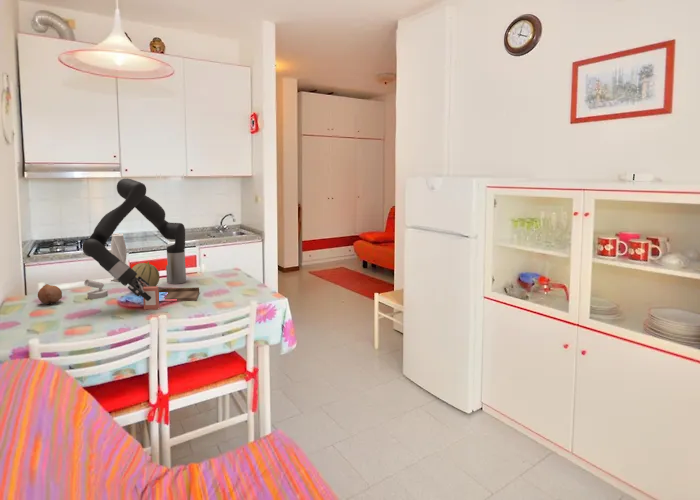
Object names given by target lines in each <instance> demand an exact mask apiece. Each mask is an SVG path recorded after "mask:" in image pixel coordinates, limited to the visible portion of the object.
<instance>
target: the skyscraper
mask: <svg viewBox="0 0 700 500" xmlns="http://www.w3.org/2000/svg"><path fill="white" fill-rule="evenodd" d="M110 244H111V246H110V248H111V249H110V252H111V253H112V254H113V255H115V256H116V257H117V258H118V259H119V260H121V261H122V262H124V263H125V264H127V263H126V262H127V246H126V245H127V244H126V242H125V238H124V233H123V232H121V233H120V232H115V233H113V234H112V235H111V242H110ZM110 282H116V283H120V282H119V281H118V280H117V279H115V278H114V277H113V279H111V280H110Z"/></svg>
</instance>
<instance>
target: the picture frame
mask: <svg viewBox="0 0 700 500" xmlns="http://www.w3.org/2000/svg"><path fill="white" fill-rule="evenodd" d="M158 289H159V286H158V285H157V286H151V287H143V290H144V293H145V292H146V293H147V294H148V295H149V296H150V297H151V299H150V300H149V301H147V300H145V299H144V298H143V297H142V299H143V301H142V302H143V310H144V309H153V310H159V309H160V302H159V291H158ZM158 308H159V309H158Z"/></svg>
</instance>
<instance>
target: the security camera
mask: <svg viewBox="0 0 700 500" xmlns="http://www.w3.org/2000/svg"><path fill="white" fill-rule="evenodd" d="M84 286H86V287H91V288H96V289H91V290H89V291H87V293H86V294H87V298H88V299H91V300H93V299H96V300H97V299H98V300H99V299H103V298H106V297H108V289H106V288H104V287H105V286H104V283H103V282H100V281H96V280H91V279H87V278H86V279H85V280H84Z"/></svg>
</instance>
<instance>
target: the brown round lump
mask: <svg viewBox="0 0 700 500" xmlns="http://www.w3.org/2000/svg"><path fill="white" fill-rule="evenodd" d="M62 298H63V292H62V290H61V288H60V287H59V286H57V285H49V284H47V283H45V284H44V285H42V287H41V288H39V290H38V292H37V299H38V300H39V301H40V302H41V303H43V304H46V305H54V304H57V303H58V302H59V301H60V300H61V299H62Z"/></svg>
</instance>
